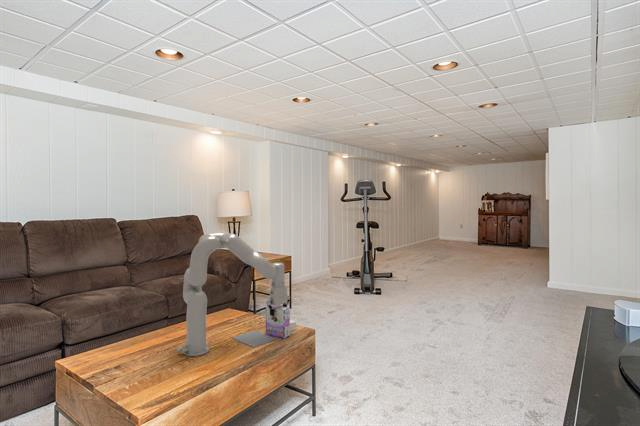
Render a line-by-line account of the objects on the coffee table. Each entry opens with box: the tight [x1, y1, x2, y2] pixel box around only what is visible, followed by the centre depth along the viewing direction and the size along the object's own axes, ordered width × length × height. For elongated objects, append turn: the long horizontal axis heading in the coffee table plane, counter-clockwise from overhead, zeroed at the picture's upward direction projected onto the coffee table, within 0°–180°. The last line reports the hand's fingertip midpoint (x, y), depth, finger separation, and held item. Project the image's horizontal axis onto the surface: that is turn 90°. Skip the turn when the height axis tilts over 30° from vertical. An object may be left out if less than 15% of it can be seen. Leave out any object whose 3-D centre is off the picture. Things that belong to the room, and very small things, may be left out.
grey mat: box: [231, 330, 278, 348], centre depth 200 cm, size 16×20×1 cm
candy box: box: [265, 305, 291, 339], centre depth 206 cm, size 14×6×16 cm, turn 58°
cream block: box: [290, 319, 297, 332], centre depth 216 cm, size 5×5×5 cm
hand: (278, 313), depth 207 cm, fingers open, 9 cm apart
